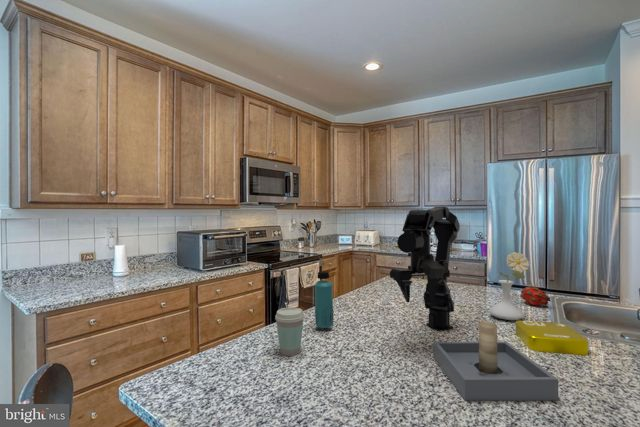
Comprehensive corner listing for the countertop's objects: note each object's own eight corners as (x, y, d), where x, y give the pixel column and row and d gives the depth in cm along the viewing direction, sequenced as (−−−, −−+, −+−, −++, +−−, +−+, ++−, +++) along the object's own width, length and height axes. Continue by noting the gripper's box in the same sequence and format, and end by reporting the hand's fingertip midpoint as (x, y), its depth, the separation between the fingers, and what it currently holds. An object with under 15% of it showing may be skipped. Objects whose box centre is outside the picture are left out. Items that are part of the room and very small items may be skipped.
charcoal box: (433, 358, 90) (433, 341, 90) (506, 357, 90) (506, 341, 90) (464, 400, 70) (464, 379, 70) (558, 400, 70) (558, 379, 70)
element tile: (530, 351, 94) (530, 335, 94) (513, 332, 108) (513, 318, 108) (591, 357, 90) (591, 339, 90) (565, 336, 105) (565, 321, 104)
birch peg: (480, 370, 83) (480, 320, 82) (498, 375, 80) (497, 323, 80) (478, 377, 79) (477, 324, 79) (496, 382, 77) (496, 328, 77)
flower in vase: (491, 320, 119) (490, 252, 119) (487, 311, 129) (487, 249, 129) (532, 325, 114) (532, 254, 114) (525, 315, 125) (525, 250, 124)
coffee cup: (308, 347, 98) (308, 308, 98) (297, 360, 90) (297, 316, 90) (283, 344, 101) (282, 305, 101) (270, 355, 93) (269, 314, 93)
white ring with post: (381, 301, 148) (381, 292, 148) (398, 303, 143) (398, 294, 143) (373, 305, 141) (373, 296, 141) (390, 308, 136) (390, 299, 136)
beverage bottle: (332, 332, 109) (331, 273, 109) (312, 331, 111) (312, 273, 110) (335, 326, 116) (334, 270, 115) (316, 324, 117) (316, 269, 117)
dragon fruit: (521, 304, 144) (548, 316, 133) (511, 295, 141) (539, 306, 130) (530, 288, 145) (559, 299, 134) (521, 279, 141) (550, 289, 131)
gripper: (411, 254, 89) (411, 310, 89) (463, 251, 96) (463, 304, 96) (388, 250, 100) (388, 301, 100) (437, 248, 107) (436, 296, 107)
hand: (420, 300), depth 100 cm, fingers open, 9 cm apart
